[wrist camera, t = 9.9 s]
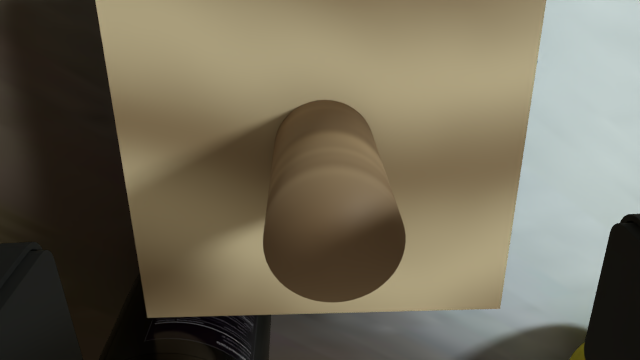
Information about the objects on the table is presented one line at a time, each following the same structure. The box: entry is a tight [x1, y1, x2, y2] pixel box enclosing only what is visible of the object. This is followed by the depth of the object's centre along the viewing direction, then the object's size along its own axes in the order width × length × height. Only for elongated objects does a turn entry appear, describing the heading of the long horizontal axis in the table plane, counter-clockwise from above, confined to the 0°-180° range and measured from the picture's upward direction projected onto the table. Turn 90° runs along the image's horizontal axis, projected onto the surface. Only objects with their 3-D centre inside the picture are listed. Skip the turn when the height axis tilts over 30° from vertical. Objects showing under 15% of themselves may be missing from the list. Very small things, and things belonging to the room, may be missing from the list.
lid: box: [95, 0, 546, 318], centre depth 16 cm, size 13×13×7 cm
